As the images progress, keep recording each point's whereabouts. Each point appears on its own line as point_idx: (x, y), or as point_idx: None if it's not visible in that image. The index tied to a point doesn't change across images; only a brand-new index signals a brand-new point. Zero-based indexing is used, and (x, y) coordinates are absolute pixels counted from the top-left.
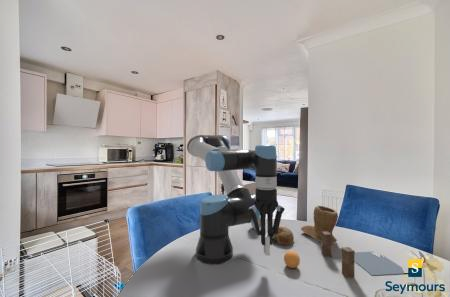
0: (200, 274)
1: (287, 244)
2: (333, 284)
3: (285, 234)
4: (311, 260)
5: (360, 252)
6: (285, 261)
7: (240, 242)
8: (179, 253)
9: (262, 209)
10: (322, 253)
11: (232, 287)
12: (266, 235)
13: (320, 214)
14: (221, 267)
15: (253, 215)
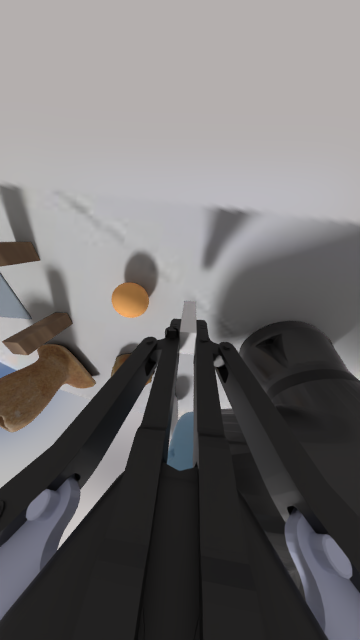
0: (346, 294)
1: (129, 354)
2: (61, 223)
3: None
4: (94, 307)
5: (2, 315)
6: (147, 296)
7: None
8: (347, 362)
9: (261, 616)
10: (70, 322)
11: (298, 238)
12: (188, 342)
13: (14, 405)
14: (285, 311)
15: (315, 477)
